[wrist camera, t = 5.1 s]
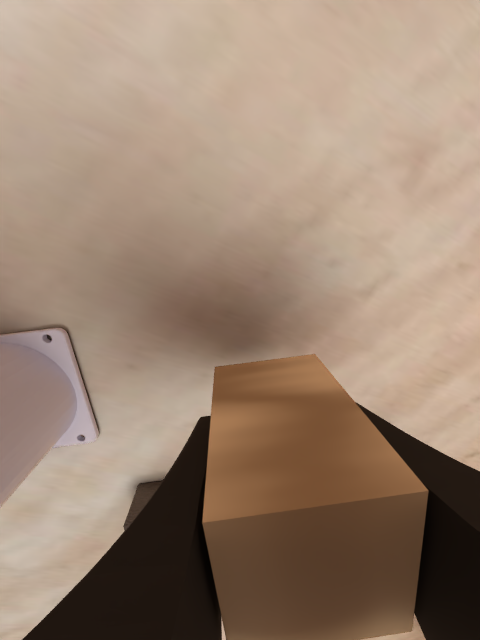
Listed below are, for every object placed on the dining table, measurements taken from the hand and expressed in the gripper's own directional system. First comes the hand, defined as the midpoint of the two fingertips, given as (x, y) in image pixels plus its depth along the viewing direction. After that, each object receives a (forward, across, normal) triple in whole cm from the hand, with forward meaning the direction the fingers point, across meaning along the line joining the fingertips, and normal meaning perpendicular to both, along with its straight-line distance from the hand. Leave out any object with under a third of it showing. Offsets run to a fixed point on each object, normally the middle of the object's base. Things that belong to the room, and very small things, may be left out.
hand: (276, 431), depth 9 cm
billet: (+2, 0, 0) cm, 2 cm away
